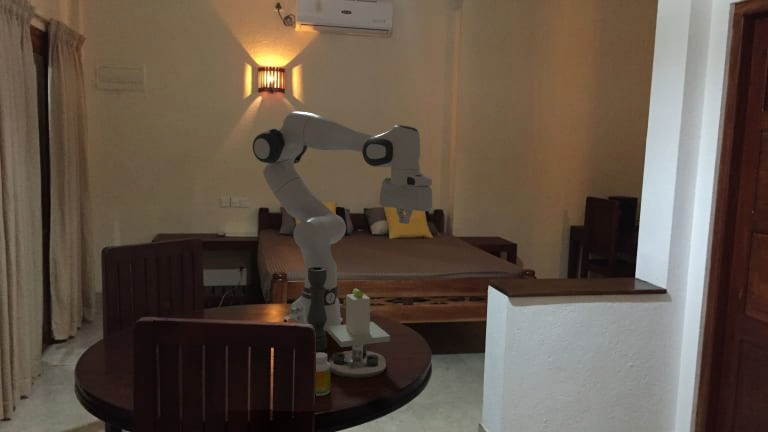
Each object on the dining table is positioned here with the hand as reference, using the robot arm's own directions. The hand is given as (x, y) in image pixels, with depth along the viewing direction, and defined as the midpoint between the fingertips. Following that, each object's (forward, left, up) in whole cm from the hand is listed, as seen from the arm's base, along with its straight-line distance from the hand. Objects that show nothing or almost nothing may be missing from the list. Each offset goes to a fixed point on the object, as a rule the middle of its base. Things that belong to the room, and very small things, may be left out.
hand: (404, 223), depth 174 cm
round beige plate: (+5, -22, -39) cm, 45 cm away
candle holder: (-15, -22, -39) cm, 47 cm away
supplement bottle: (+12, -40, -39) cm, 57 cm away
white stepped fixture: (+5, -22, -30) cm, 38 cm away
